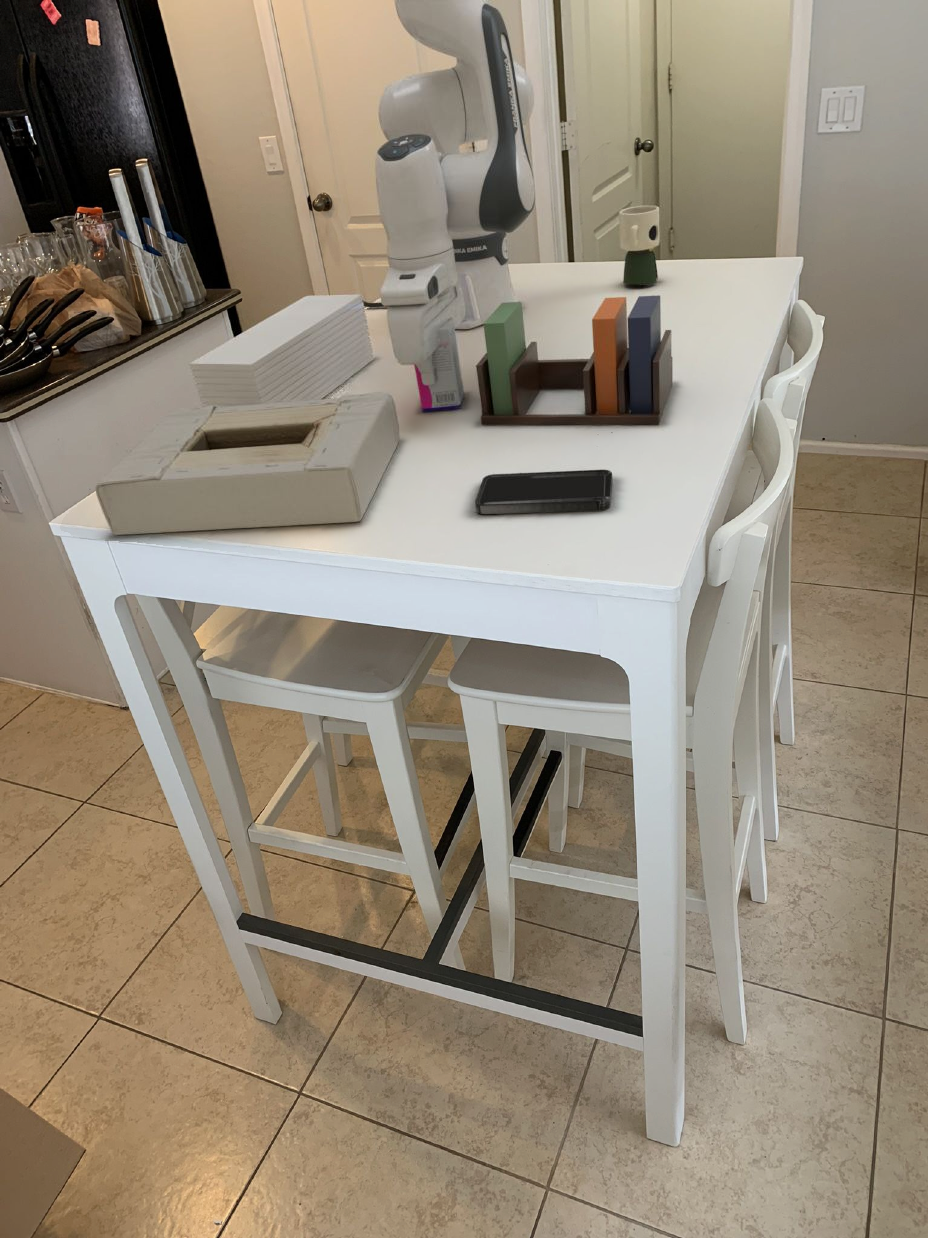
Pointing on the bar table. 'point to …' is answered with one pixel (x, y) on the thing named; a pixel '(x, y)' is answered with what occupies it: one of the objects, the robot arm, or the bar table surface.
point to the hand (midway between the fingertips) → (439, 373)
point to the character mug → (639, 243)
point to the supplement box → (443, 375)
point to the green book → (504, 351)
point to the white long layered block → (288, 355)
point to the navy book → (643, 351)
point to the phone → (545, 492)
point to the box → (254, 466)
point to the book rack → (573, 375)
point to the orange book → (609, 351)
